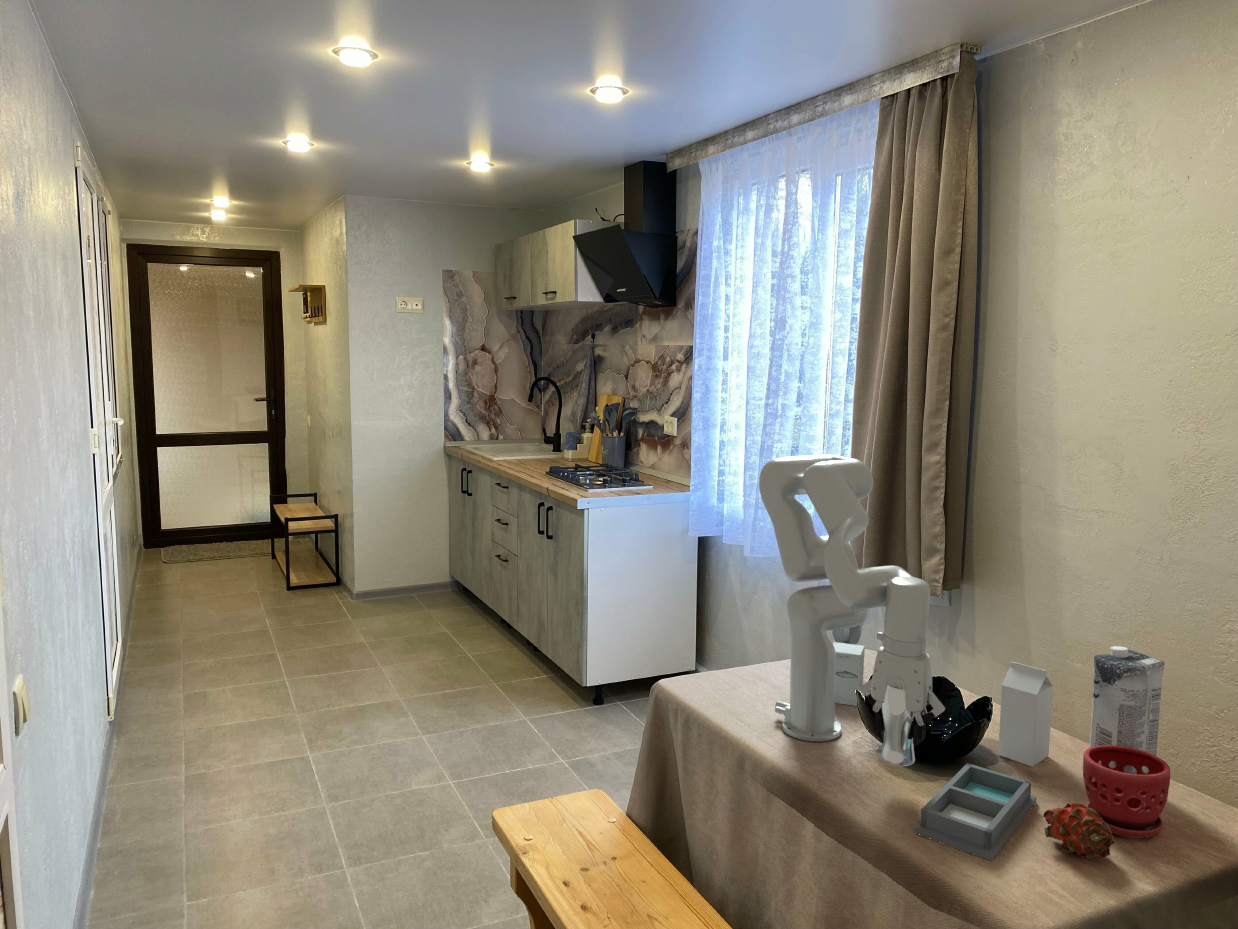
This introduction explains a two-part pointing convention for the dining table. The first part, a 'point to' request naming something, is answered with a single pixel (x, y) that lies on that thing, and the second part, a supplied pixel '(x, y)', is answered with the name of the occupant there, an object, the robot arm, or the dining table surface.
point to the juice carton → (1126, 702)
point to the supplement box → (848, 672)
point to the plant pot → (1126, 789)
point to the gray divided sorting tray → (976, 811)
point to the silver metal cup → (897, 728)
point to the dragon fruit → (1079, 830)
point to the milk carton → (1025, 714)
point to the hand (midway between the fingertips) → (899, 735)
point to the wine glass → (848, 635)
